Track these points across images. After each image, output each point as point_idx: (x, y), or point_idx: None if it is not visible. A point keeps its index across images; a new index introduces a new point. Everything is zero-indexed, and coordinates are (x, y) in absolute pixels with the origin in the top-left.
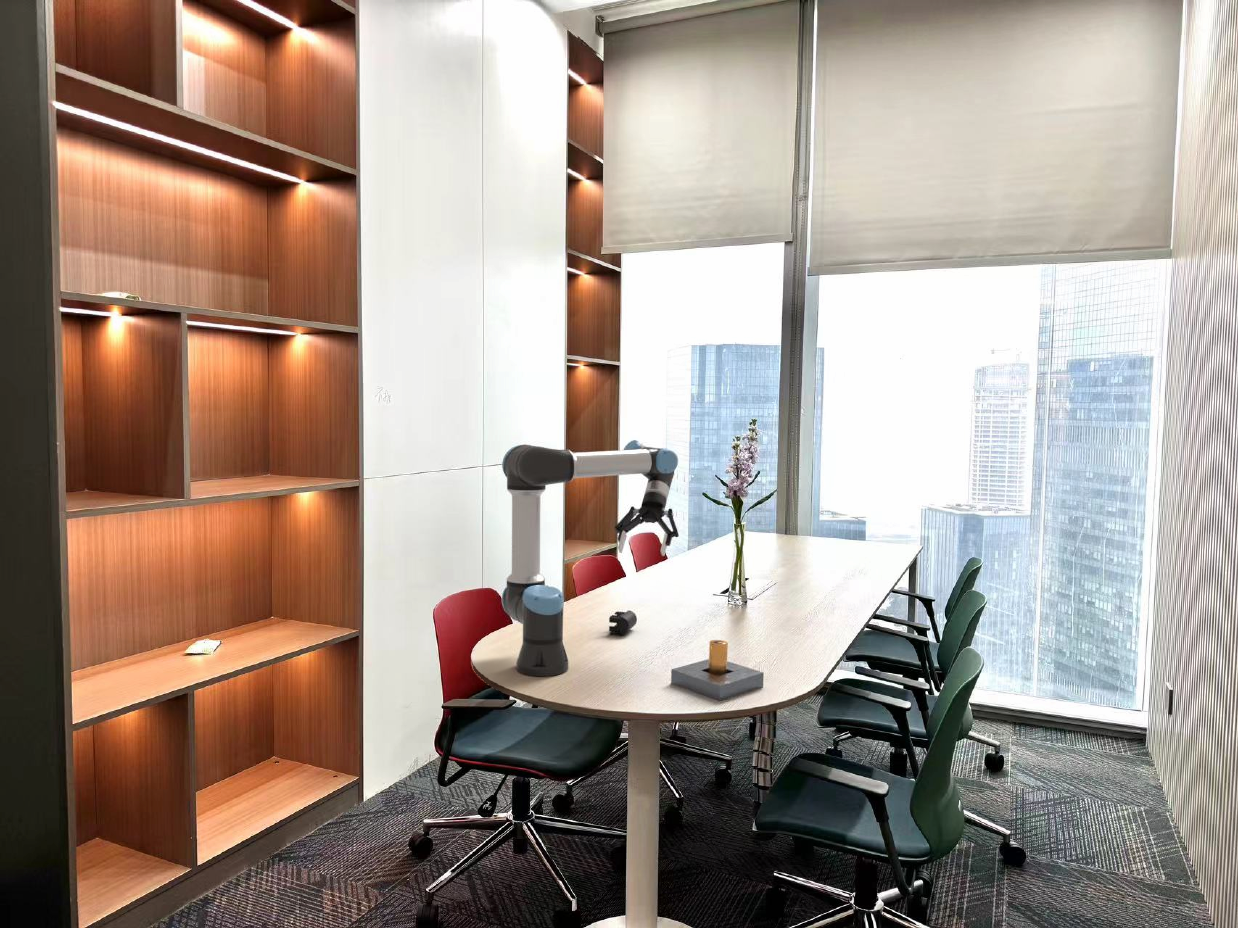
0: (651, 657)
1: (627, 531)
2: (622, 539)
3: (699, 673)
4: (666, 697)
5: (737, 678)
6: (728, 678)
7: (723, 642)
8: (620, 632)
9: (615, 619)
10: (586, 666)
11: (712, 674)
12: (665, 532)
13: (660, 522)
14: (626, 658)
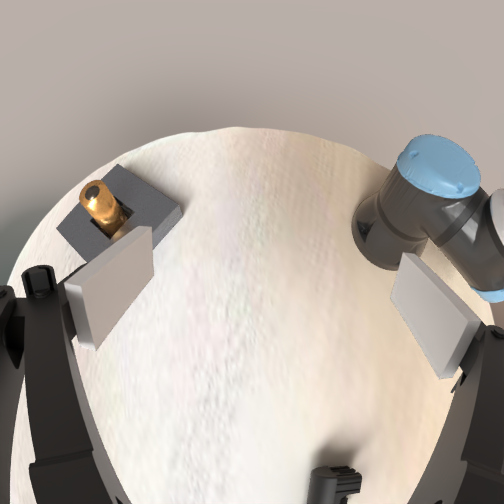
0: (232, 344)
1: (457, 393)
2: (429, 280)
3: (137, 198)
4: (187, 168)
5: None
6: None
7: (85, 193)
8: (327, 467)
9: (347, 476)
10: (333, 260)
11: (120, 199)
12: (81, 382)
13: (74, 405)
14: (279, 325)
